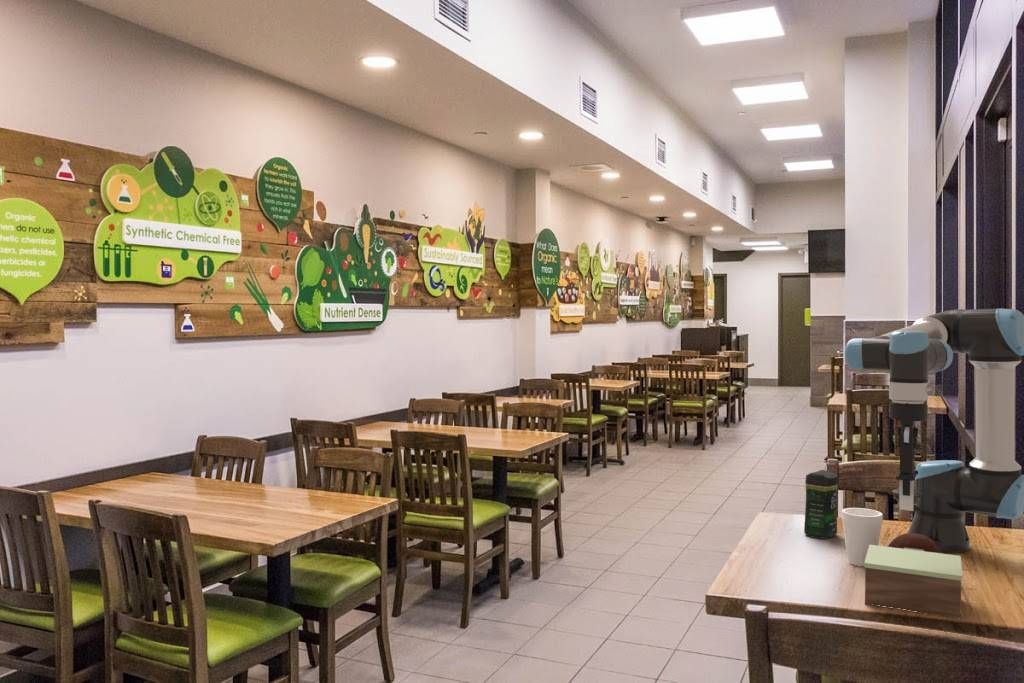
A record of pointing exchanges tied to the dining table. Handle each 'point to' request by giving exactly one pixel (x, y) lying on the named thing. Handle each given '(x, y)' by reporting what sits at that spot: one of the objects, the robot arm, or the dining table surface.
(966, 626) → the dining table surface
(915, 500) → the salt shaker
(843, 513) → the foam cup
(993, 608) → the dining table surface
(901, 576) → the box
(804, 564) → the dining table surface
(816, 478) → the coffee jar
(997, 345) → the robot arm
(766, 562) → the dining table surface
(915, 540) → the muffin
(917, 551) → the lid
